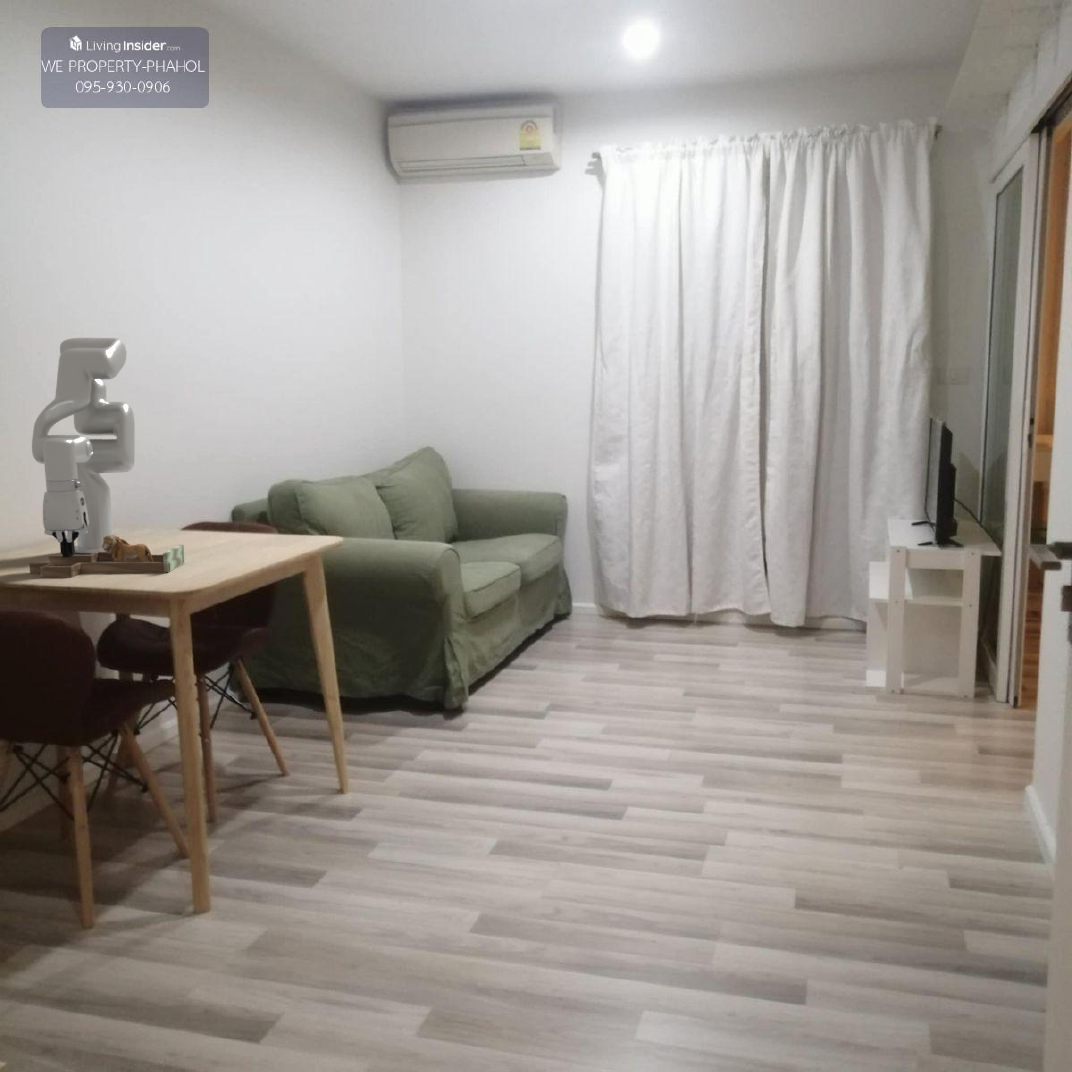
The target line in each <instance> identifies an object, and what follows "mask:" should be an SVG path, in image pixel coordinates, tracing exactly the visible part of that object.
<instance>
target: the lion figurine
mask: <svg viewBox="0 0 1072 1072" xmlns="http://www.w3.org/2000/svg"><path fill="white" fill-rule="evenodd" d="M103 539H104V541H103V545H102V548H104V551H106V552H107V553H108V554H110V555H111V556H112V557H113V558H117V559H118V562H126V558H130V559H133V558H136V557H139V559H140V560H141V561H142V562H149V561H148V555H149V557H150V559H151V561H152V562H154V561H153V558H152V555H153V554H152V553H151V551H150V549H149V546H147V544H144V543H137V544H130V543H128V542H127V540H125V539H123V538H120V537H119V536H117V535H116V536H114V535H107V536H105V537H103Z"/></svg>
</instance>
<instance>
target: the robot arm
mask: <svg viewBox="0 0 1072 1072" xmlns="http://www.w3.org/2000/svg"><path fill="white" fill-rule="evenodd" d="M59 354H60V355H59V358H58V365H57V366H58V367H57V376H56V388H55V397H54V399H53V400H52V401H51V402H49V404H47V405H46V406H45V407H44V408H43V409H42V410H41V412H40V413H39V414H38V416H37V418H36V419H35V421H34V424H33V431H32V437H31V438H32V439H31V453H32V456H33V459H34V461H36V462H37V463H39V464H43V465H44V476H45V487H46V489H45V490H46V491H45V492H44V494H43V500H42V525H43V528H44V534H45V535H48V536H53V538H55V539H56V540H57V542H58V543H59V547H60V555H62V557H63V558H66V557H67V558H70V557H72V556H74V555H75V553H77V554H92V553H95V552H106V551H104V548H102V545H103V541H104V539H103V537H105V536H107V535H114V536H116V537H117V535H116V533H115V532H114V531H113V530H114V529H113V516H112V515H113V514H112V502H111V498H112V497H111V490H110V489H111V488H110V486H109V484H108V483H107V481H106V480H105V479H104V478H103V477H102V476H101V474H115V473H116V474H118V473H119V474H121V473H128V472H130V471H132V469H133V468H134V464H135V451H136V450H135V448H136V447H135V442H136V441H135V436H136V435H135V434H136V433H135V425H136V424H135V414H134V411H133V409H132V407H131V406H130V405H129V403H127V402H122V401H107V385H106V383H105V381H103V380H113V379H114V378H116V377H117V376H118V374H119V373H120V371H122V369H123V367H124V365H126V361H127V349H126V345H125V343H124V342H123V340H121V339H119V338H115V337H73V338H72V337H71V338H68V339H65V340H63V341H62V342H61V343H60V346H59ZM71 416H73V426H74V429H75V431H76V432H77V433H78V434H56V435H55V434H50V435H49V432H50V430H51V429H52V428H53V427H54V426H55V424H57V423H58V422H60V421H62V420H64V419H66V418H69V417H71ZM79 434H80V435H79ZM86 436H97V437H100V436H115V437H116V439H115V438H114V439H113V438H112V439H111V438H92V439H91V438H88V437H86ZM76 540H77V541H76ZM75 541H76V542H77V545H75Z"/></svg>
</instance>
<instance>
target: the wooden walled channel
mask: <svg viewBox="0 0 1072 1072" xmlns="http://www.w3.org/2000/svg"><path fill="white" fill-rule="evenodd" d="M151 555H152V558H153V561H154V562H152V561H151V559H150V557H149V554H148V561H149V562H142V561H141V560H140V559H139V557H136V558H133V559H130V558H126V562H118V559H117V558H113V557H112V556H111V555H110V554H108V553H107V552H95V553H89V554H74V556H72V557H70V558H67V557H66V558H63V557H62V554H59V555H57V554H55V555H53V554H52V555H51V554H50V555H48V560H49V561H48V562H30V563H29V573H30V574H40V578H60V577H61V578H73V577H76V576H78V575H80V574H102V573H103V574H110V573H111V574H112V573H113V574H116V573H117V574H118V573H119V574H129V573H130V574H131V573H133V574H134V572H155V573H164V572H169V571H170V570H172V571H173V569H174V570H175V568H176V567H177V568H179V567H181V566H182V565H181V564H183V563H184V564H185V547H184V544H178V545H177V546H174V547H173V548H171V549H169V550H167V551H165V552H163V553H162V554H151ZM184 564H183V565H184ZM180 565H181V566H180ZM178 566H179V567H178ZM177 568H176V569H177ZM170 572H171V571H170ZM170 572H169V573H170Z"/></svg>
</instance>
